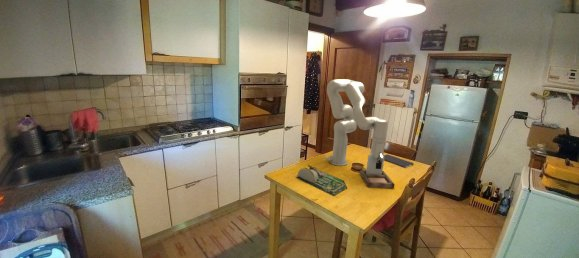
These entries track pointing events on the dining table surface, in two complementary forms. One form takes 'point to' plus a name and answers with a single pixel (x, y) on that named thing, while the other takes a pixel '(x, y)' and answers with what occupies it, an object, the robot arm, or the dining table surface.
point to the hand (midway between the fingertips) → (375, 165)
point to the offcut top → (377, 180)
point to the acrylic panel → (373, 166)
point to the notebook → (397, 161)
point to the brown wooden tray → (377, 184)
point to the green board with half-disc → (322, 180)
